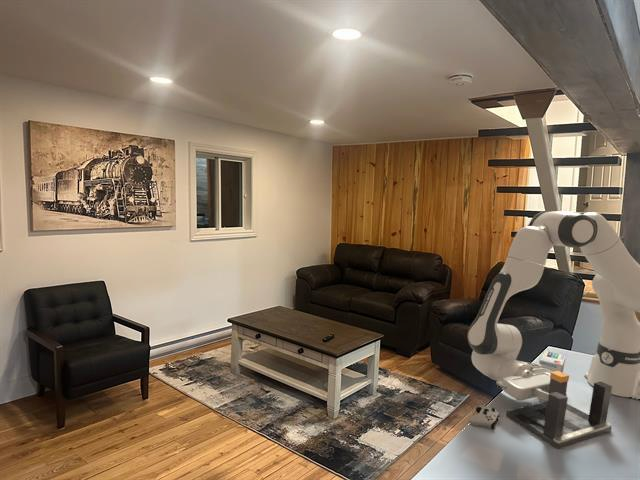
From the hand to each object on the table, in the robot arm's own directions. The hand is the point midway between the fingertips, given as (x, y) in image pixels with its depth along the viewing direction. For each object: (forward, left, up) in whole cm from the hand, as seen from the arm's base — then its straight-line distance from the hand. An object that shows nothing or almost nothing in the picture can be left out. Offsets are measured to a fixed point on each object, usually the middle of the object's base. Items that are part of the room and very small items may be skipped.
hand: (559, 397), depth 119 cm
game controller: (+19, -8, -8) cm, 22 cm away
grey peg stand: (0, 0, -8) cm, 8 cm away
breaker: (0, -1, -6) cm, 6 cm away
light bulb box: (-18, -16, -8) cm, 25 cm away
